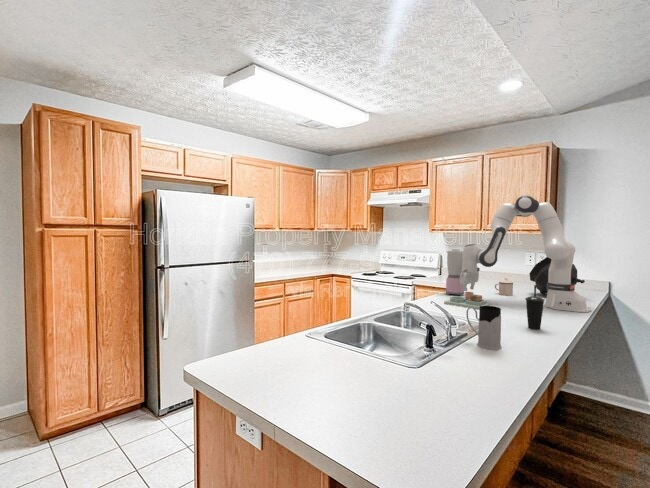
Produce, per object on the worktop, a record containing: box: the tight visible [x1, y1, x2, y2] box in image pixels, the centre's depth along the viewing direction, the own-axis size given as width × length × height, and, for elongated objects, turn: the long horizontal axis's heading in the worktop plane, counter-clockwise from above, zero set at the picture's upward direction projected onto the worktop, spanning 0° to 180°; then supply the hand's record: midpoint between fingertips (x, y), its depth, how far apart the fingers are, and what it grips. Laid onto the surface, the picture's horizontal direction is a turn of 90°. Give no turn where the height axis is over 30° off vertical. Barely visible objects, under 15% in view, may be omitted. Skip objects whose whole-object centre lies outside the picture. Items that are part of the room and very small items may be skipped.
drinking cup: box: [525, 284, 546, 331], centre depth 163 cm, size 8×8×20 cm
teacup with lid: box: [494, 277, 514, 297], centre depth 252 cm, size 12×9×12 cm
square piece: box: [470, 294, 483, 302], centre depth 211 cm, size 5×5×5 cm
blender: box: [445, 248, 465, 297], centre depth 249 cm, size 16×12×32 cm
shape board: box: [443, 296, 491, 310], centre depth 215 cm, size 22×14×4 cm, turn 44°
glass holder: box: [466, 305, 502, 351], centre depth 140 cm, size 9×14×15 cm, turn 36°
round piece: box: [464, 291, 474, 300], centre depth 231 cm, size 5×5×5 cm
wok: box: [528, 256, 586, 295], centre depth 243 cm, size 28×28×24 cm
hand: (468, 290), depth 231 cm, fingers open, 8 cm apart
